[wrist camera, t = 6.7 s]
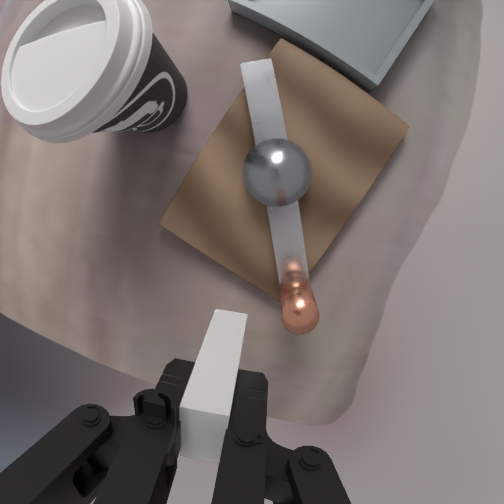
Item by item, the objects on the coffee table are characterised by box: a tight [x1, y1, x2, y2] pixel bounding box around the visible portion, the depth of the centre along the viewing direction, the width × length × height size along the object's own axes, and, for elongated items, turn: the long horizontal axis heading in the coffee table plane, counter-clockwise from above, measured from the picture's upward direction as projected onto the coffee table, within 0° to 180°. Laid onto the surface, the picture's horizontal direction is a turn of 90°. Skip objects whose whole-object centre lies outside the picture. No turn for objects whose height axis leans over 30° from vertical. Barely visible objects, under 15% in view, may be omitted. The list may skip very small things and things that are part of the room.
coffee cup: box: [1, 0, 187, 143], centre depth 18 cm, size 10×10×15 cm
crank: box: [240, 58, 319, 334], centre depth 21 cm, size 19×5×7 cm, turn 10°
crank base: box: [159, 38, 409, 302], centre depth 25 cm, size 19×13×2 cm
